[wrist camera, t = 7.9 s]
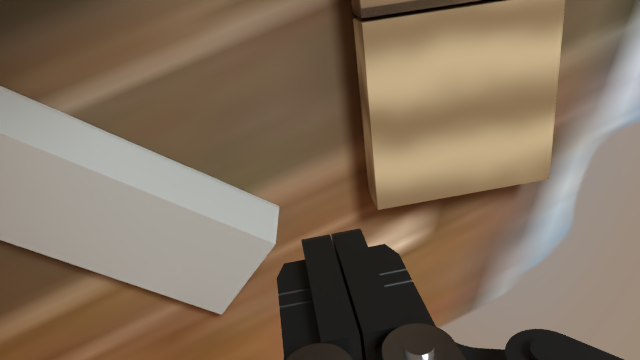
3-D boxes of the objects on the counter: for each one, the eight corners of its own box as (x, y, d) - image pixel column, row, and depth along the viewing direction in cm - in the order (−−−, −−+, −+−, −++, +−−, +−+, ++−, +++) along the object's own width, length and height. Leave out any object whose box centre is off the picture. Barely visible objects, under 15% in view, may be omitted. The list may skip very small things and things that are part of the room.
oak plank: (352, 18, 34) (362, 23, 31) (541, -11, 35) (565, -8, 32) (369, 192, 40) (377, 209, 37) (529, 164, 41) (549, 178, 38)
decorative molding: (230, 271, 45) (279, 201, 39) (221, 314, 41) (275, 244, 36) (-212, 107, 34) (-227, -19, 29) (-279, 145, 30) (-310, 8, 25)
